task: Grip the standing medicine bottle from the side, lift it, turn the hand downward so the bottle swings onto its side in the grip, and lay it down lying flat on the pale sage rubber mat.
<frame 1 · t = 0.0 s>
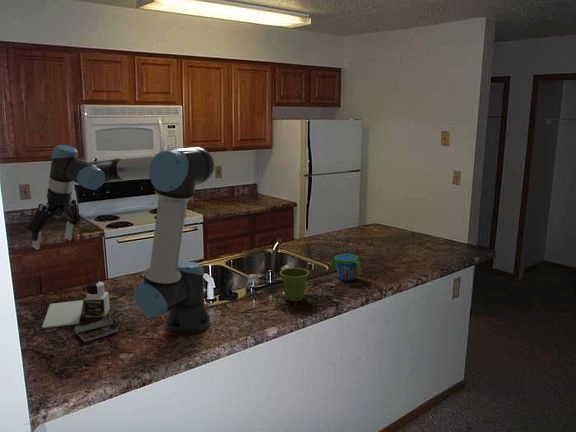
hand: (52, 243, 177), 28 cm above the worktop, tool tilted 20°, fingers open, 13 cm apart
medicine bottle: (97, 313, 185), on the worktop
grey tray: (98, 334, 168), on the worktop
plant pot: (294, 299, 199), on the worktop
rubber mat: (64, 314, 184), on the worktop
snack cup: (346, 279, 222), on the worktop
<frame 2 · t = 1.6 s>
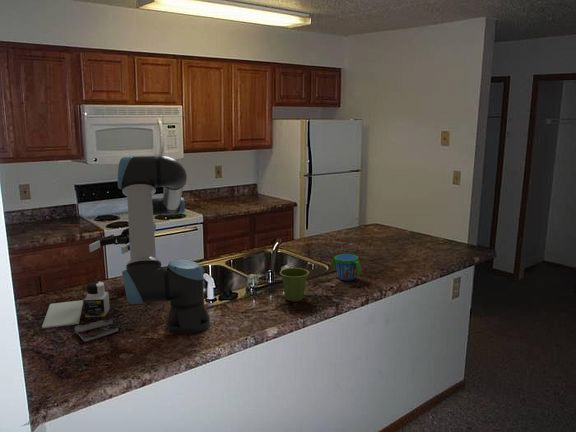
hand: (106, 249, 189), 22 cm above the worktop, tool horizontal, fingers open, 13 cm apart
nothing on the worktop moved.
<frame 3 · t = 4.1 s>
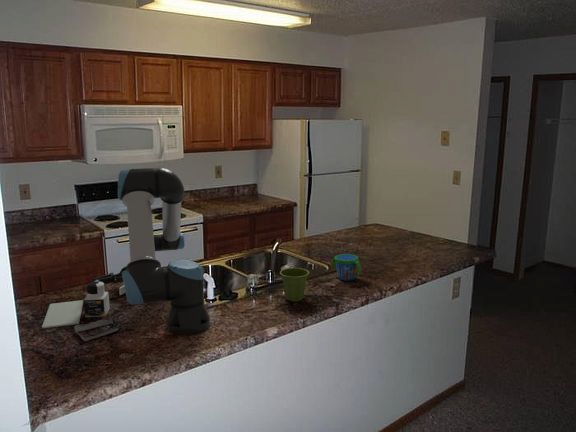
hand: (104, 290, 189), 7 cm above the worktop, tool horizontal, fingers open, 13 cm apart
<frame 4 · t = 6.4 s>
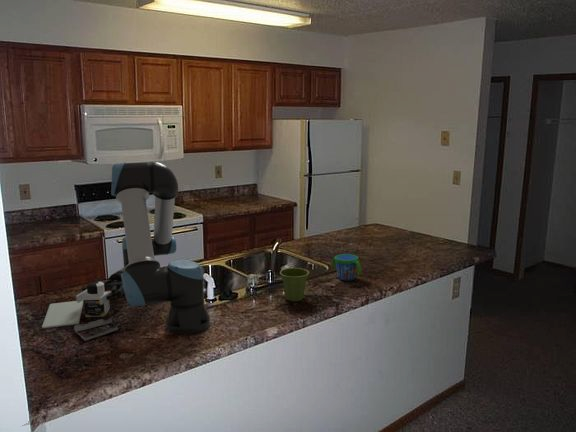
hand: (89, 300, 179), 7 cm above the worktop, tool horizontal, fingers closed on medicine bottle, 9 cm apart
medicine bottle: (97, 313, 185), on the worktop, touching gripper
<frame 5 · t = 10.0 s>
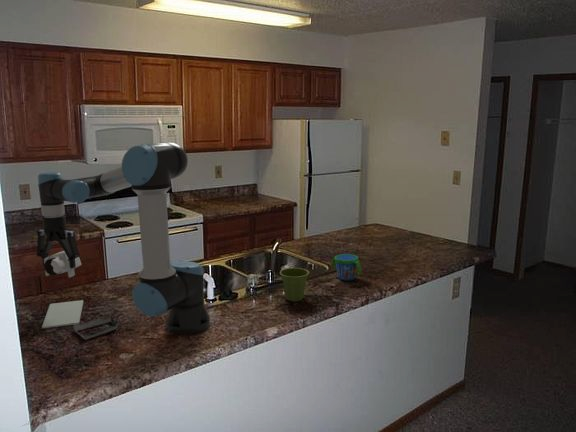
hand: (60, 275, 181), 15 cm above the worktop, tool pointing down, fingers closed on medicine bottle, 9 cm apart
medicine bottle: (71, 258, 187), point 20 cm above the worktop, touching gripper
when the fingers open (2 cm above the worktop, at t = 13.1 s): medicine bottle drops 2 cm, resting on rubber mat.
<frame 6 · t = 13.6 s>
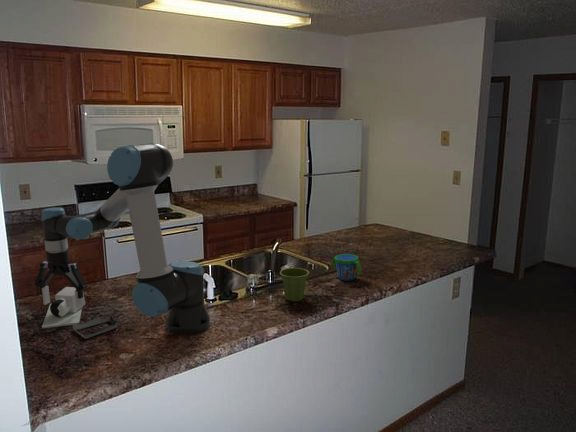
hand: (63, 304, 183), 4 cm above the worktop, tool pointing down, fingers open, 13 cm apart
medicine bottle: (76, 295, 189), point 5 cm above the worktop, touching rubber mat
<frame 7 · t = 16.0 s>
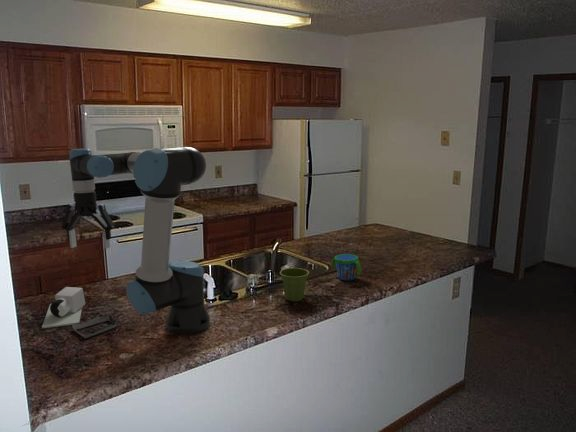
hand: (90, 247, 183), 25 cm above the worktop, tool pointing down, fingers open, 13 cm apart
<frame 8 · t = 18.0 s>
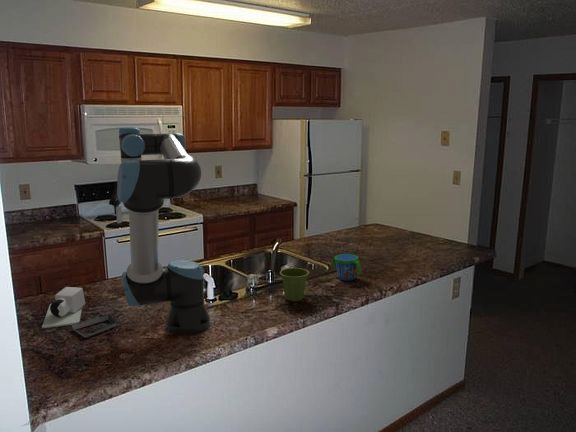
hand: (135, 223, 190), 32 cm above the worktop, tool pointing down, fingers open, 13 cm apart
at the end: medicine bottle tilted 97°; medicine bottle inside the target area on the rubber mat (7.0 cm from its centre), point 5.0 cm above the rubber mat's base; the gripper is holding nothing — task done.
